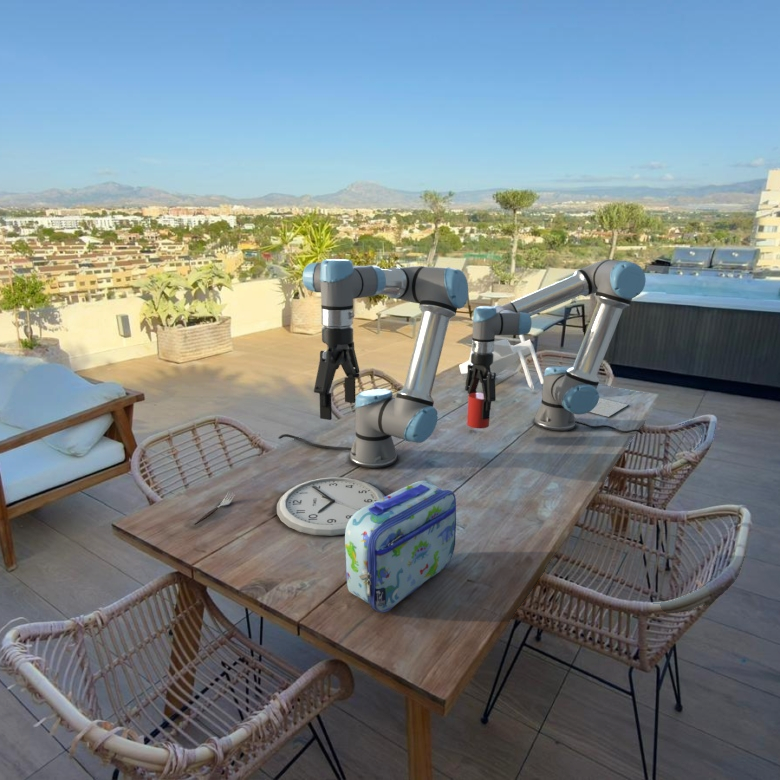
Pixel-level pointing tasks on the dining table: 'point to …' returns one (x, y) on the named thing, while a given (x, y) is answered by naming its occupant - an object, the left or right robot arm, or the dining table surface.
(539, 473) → the dining table surface
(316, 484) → the wall clock
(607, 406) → the invitation card
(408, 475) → the dining table surface
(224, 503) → the fork
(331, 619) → the dining table surface
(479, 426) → the canister
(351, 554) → the lunch box
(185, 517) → the dining table surface
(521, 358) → the white plastic object
